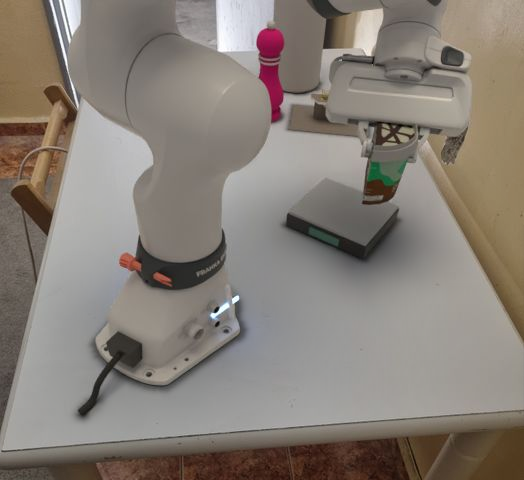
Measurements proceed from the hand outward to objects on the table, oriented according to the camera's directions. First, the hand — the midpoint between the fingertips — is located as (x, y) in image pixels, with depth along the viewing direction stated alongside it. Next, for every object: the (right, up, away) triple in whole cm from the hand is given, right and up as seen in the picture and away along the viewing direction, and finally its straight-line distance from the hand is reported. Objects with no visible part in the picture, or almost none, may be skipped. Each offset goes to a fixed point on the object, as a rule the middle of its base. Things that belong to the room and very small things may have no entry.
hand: (388, 159), depth 75 cm
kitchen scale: (-3, -4, +22) cm, 22 cm away
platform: (-2, +26, +47) cm, 54 cm away
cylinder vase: (-10, +41, +59) cm, 73 cm away
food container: (0, -3, +5) cm, 6 cm away
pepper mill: (-17, +28, +47) cm, 57 cm away
